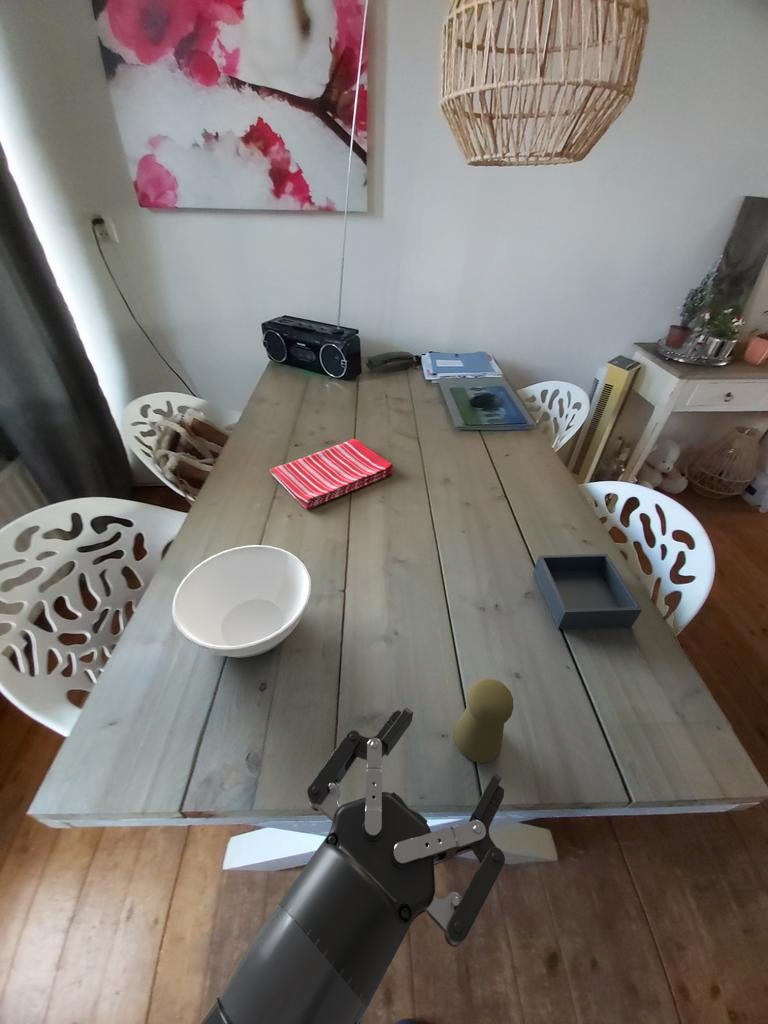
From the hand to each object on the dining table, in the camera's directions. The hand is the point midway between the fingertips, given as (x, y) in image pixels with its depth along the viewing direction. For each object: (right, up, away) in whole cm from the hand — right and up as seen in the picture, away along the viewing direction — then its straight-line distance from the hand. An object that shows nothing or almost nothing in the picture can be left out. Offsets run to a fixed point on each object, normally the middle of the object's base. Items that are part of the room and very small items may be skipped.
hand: (450, 744), depth 37 cm
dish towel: (-17, +28, +64) cm, 72 cm away
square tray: (+28, +5, +37) cm, 47 cm away
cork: (+6, -9, +19) cm, 22 cm away
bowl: (-26, +2, +32) cm, 41 cm away
